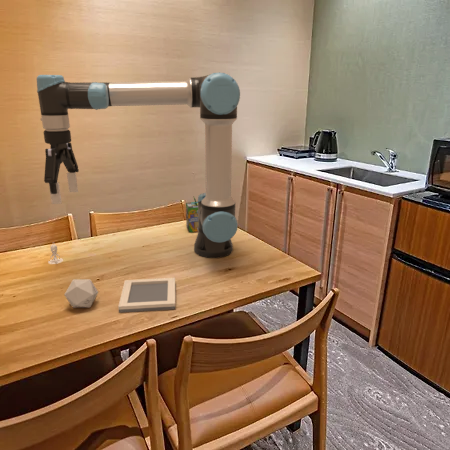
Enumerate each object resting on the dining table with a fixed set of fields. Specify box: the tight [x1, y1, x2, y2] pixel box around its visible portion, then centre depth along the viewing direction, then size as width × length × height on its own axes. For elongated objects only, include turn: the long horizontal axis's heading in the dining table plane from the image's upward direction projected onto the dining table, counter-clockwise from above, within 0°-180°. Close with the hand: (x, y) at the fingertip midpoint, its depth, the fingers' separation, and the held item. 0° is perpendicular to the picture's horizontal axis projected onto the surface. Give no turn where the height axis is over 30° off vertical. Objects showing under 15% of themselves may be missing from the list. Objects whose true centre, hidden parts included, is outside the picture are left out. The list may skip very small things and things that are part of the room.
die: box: [64, 278, 99, 309], centre depth 114 cm, size 8×9×10 cm
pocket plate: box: [117, 277, 176, 313], centre depth 119 cm, size 16×16×2 cm
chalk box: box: [185, 196, 198, 233], centre depth 174 cm, size 9×9×15 cm
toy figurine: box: [47, 243, 64, 265], centre depth 141 cm, size 5×8×7 cm, turn 31°
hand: (65, 197), depth 125 cm, fingers open, 13 cm apart
